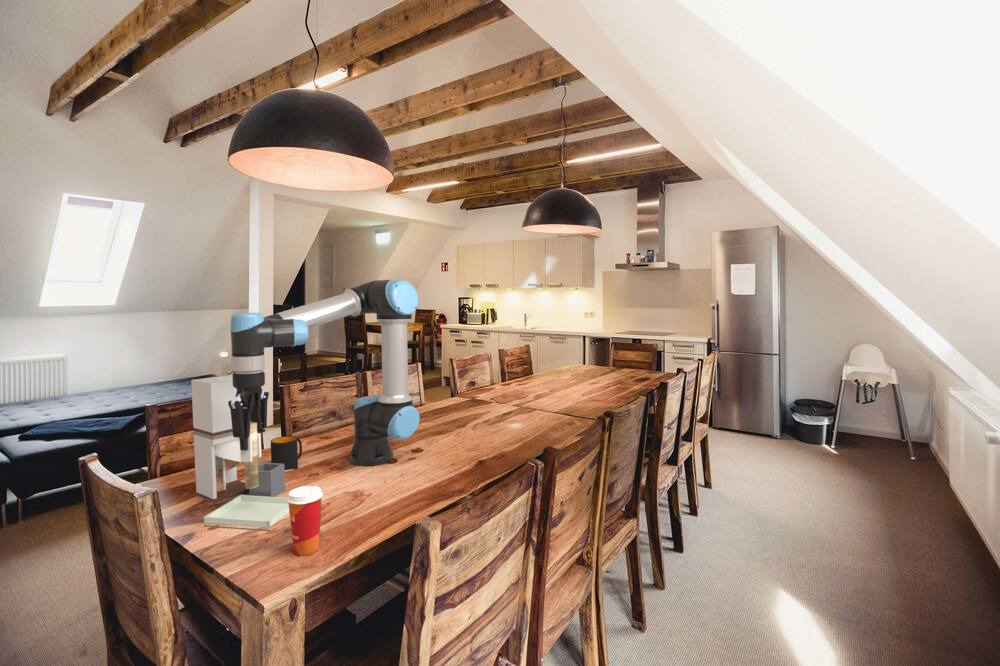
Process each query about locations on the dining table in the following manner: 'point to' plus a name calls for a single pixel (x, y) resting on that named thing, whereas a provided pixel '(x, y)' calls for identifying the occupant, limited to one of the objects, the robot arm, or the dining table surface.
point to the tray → (249, 512)
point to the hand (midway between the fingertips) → (251, 459)
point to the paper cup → (305, 519)
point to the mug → (286, 451)
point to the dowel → (252, 467)
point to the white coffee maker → (215, 440)
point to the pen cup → (269, 480)
